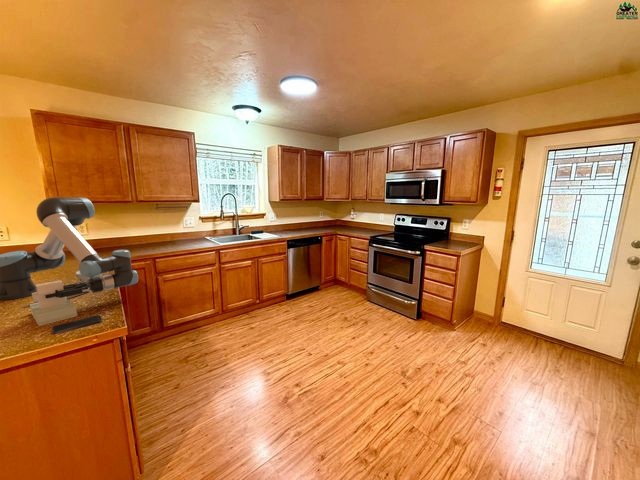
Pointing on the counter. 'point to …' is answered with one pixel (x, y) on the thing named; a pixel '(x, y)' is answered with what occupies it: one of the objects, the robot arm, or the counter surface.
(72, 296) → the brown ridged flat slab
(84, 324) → the phone
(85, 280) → the teacup
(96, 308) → the counter surface
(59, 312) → the slotted rack base
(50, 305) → the beige rectangular block
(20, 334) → the counter surface
